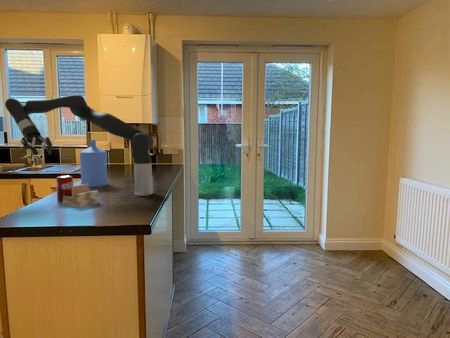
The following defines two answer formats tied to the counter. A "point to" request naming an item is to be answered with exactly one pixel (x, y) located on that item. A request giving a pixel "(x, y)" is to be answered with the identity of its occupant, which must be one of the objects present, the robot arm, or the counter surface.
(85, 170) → the water jug
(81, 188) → the catch plate
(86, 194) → the birch dock
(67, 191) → the soda can
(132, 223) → the counter surface
